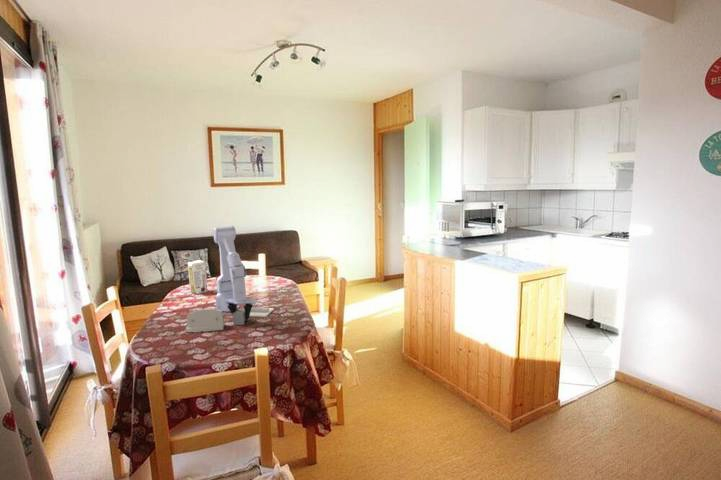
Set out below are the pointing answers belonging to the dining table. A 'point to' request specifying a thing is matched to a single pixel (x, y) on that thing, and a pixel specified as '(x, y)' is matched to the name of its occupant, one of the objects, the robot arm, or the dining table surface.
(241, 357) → the dining table surface
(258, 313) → the rail board
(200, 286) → the juice carton
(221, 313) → the light grey flat block
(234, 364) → the dining table surface
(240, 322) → the module
